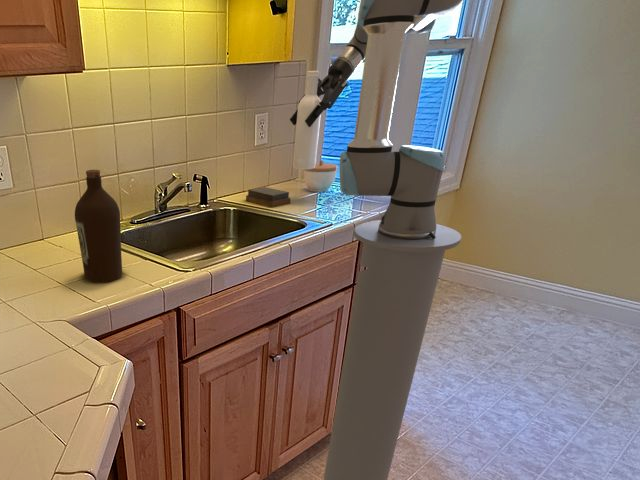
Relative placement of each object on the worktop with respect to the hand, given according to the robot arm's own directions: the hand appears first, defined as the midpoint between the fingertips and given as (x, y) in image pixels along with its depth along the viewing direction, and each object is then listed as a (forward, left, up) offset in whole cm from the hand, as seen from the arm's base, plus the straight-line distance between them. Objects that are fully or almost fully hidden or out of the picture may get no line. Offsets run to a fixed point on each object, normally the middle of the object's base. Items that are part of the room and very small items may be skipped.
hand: (299, 123), depth 170 cm
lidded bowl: (+9, -23, -27) cm, 36 cm away
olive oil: (-24, +90, -27) cm, 97 cm away
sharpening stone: (+7, +6, -26) cm, 28 cm away
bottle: (-1, -3, -15) cm, 15 cm away
